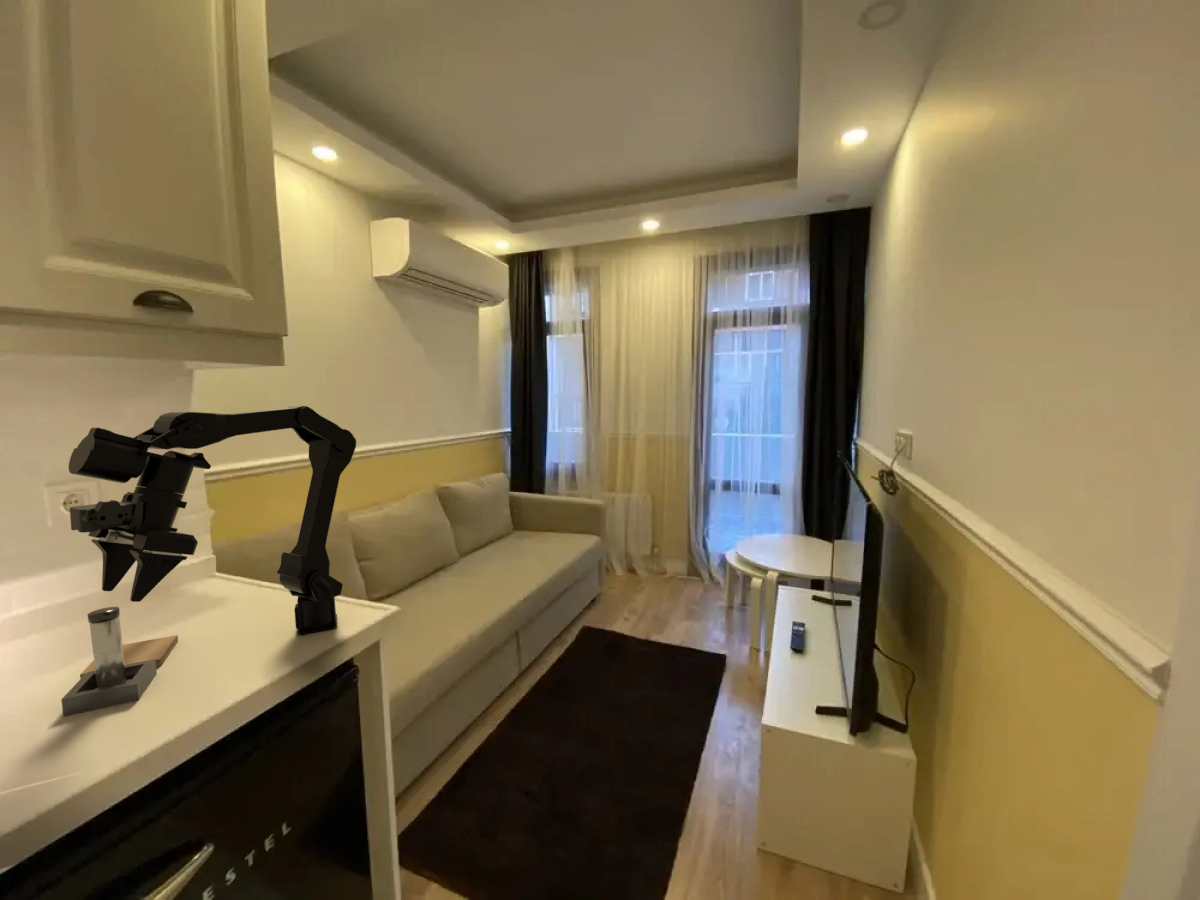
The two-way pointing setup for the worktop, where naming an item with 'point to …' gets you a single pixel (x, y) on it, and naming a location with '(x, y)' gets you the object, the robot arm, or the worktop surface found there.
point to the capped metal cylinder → (107, 647)
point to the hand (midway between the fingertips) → (120, 596)
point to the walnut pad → (144, 652)
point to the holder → (108, 689)
